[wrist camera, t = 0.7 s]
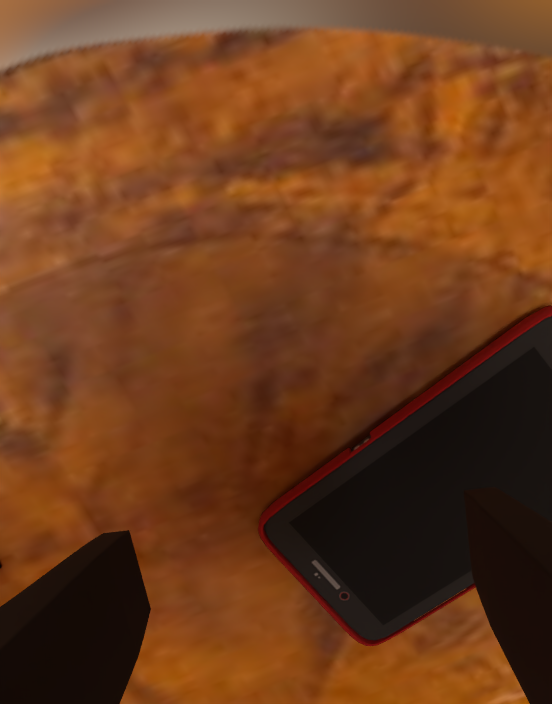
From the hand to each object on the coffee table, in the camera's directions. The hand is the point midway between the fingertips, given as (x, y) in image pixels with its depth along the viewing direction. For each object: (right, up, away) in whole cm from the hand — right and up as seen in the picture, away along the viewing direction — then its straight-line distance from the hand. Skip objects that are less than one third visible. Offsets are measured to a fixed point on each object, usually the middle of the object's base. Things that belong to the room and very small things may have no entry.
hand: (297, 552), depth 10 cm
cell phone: (+7, -1, +10) cm, 12 cm away
